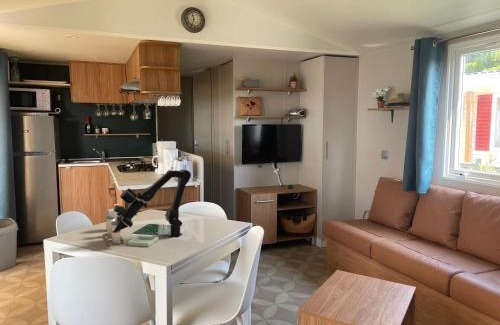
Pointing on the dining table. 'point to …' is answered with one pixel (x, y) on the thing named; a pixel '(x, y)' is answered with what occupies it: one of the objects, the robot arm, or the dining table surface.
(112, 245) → the wooden fuse rack
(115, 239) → the ball
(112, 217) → the cylinder
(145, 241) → the tray
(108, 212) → the supplement box
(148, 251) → the dining table surface
